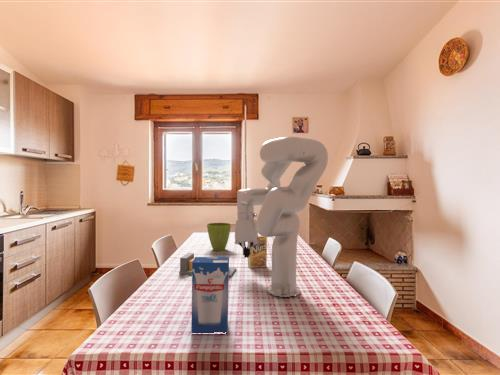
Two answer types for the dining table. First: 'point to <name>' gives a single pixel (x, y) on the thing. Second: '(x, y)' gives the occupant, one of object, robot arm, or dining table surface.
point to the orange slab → (190, 264)
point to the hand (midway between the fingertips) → (246, 256)
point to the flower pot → (218, 235)
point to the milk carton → (210, 294)
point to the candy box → (258, 253)
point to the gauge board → (185, 270)
